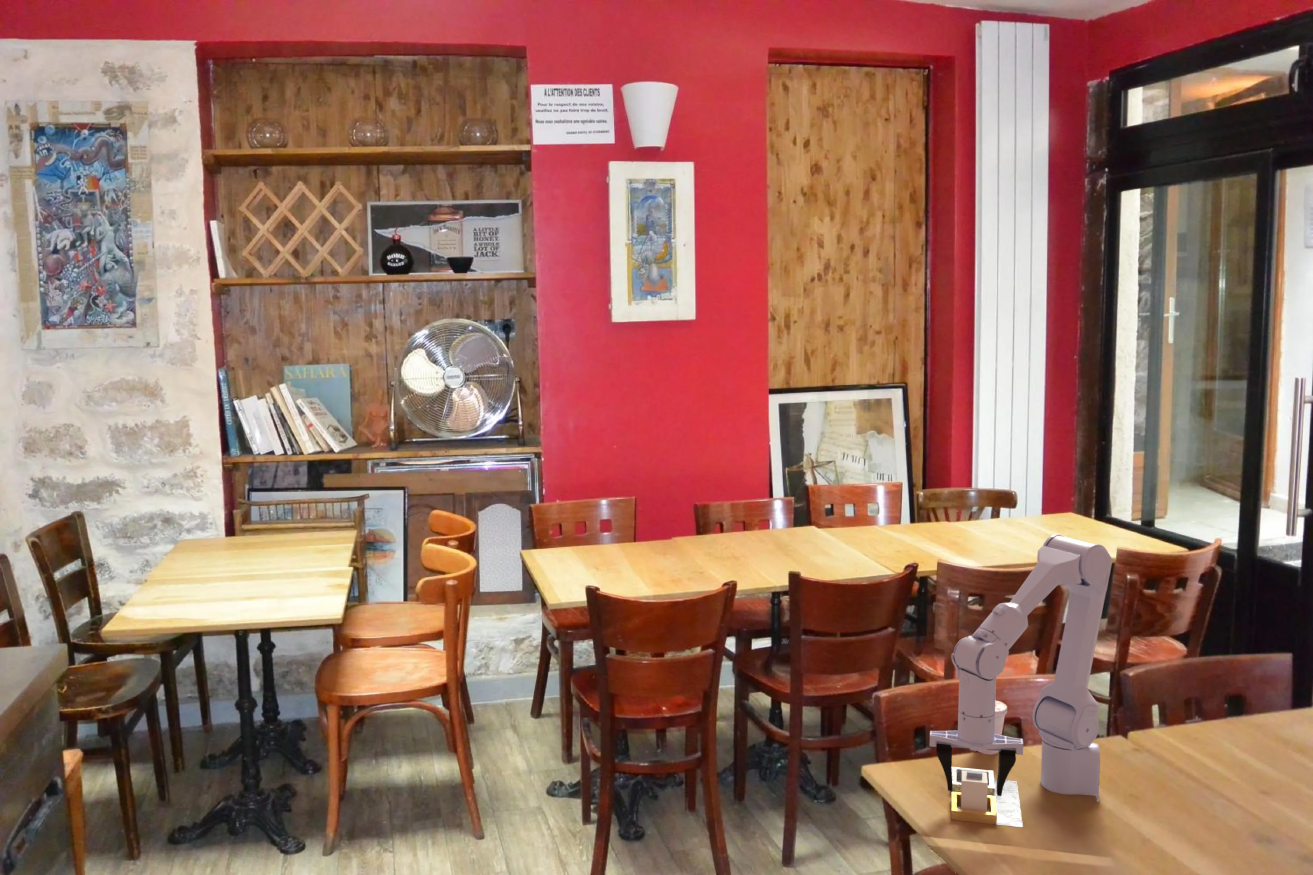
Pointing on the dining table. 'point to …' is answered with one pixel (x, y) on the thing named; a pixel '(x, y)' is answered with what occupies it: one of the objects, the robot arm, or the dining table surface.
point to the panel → (988, 802)
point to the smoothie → (997, 722)
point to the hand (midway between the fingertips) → (974, 790)
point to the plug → (974, 790)
